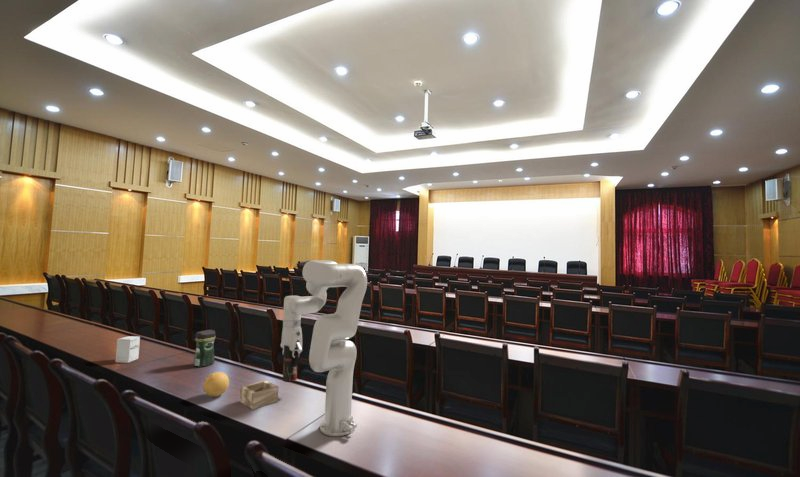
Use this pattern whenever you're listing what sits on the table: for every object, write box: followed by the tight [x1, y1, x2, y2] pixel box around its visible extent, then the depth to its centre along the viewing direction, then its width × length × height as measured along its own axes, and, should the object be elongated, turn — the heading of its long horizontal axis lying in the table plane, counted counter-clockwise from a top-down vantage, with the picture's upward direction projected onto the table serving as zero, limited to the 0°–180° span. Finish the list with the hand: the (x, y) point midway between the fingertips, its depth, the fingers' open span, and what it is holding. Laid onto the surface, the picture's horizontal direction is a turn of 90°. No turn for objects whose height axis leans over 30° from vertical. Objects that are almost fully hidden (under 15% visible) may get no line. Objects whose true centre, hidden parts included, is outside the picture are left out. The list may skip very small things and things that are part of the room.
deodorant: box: [282, 345, 298, 383], centre depth 152 cm, size 6×6×15 cm
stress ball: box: [202, 371, 230, 398], centre depth 149 cm, size 10×10×10 cm
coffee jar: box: [193, 329, 216, 368], centre depth 188 cm, size 10×8×19 cm
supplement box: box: [115, 335, 141, 364], centre depth 190 cm, size 7×7×13 cm
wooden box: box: [239, 379, 279, 410], centre depth 145 cm, size 11×11×6 cm
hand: (290, 364), depth 152 cm, fingers closed on deodorant, 6 cm apart
